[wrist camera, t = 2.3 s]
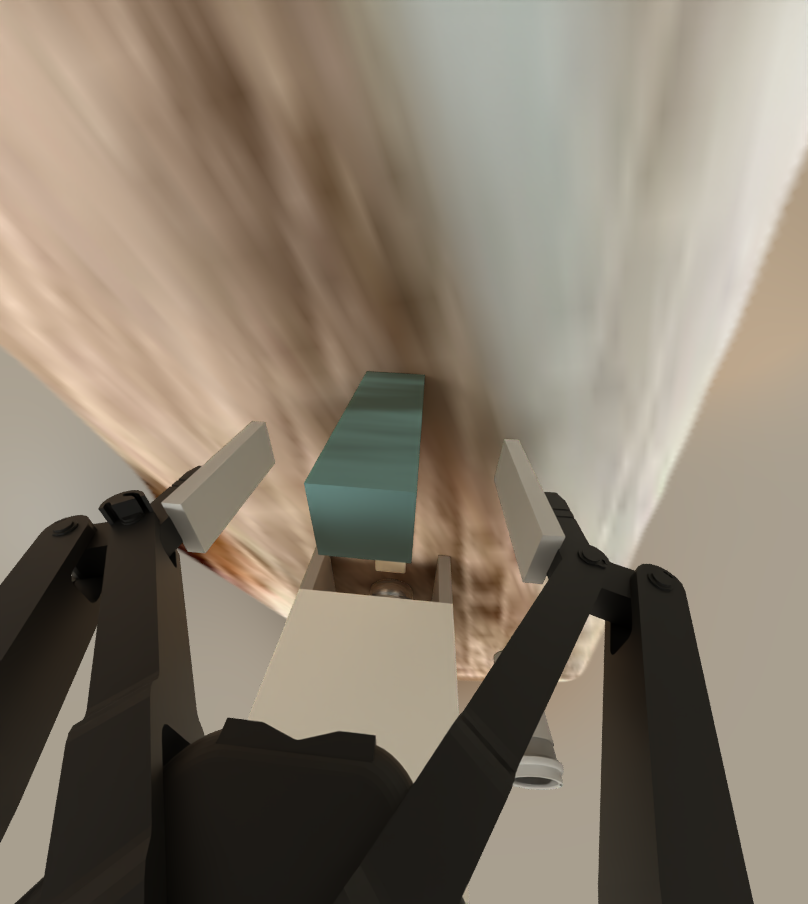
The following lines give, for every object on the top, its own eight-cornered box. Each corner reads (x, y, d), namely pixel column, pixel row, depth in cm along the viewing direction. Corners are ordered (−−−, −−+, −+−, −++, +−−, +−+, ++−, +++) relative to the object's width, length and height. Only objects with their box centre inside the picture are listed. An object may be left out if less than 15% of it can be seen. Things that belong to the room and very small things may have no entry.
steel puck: (370, 575, 34) (366, 596, 32) (414, 580, 34) (412, 602, 32) (371, 599, 37) (367, 620, 35) (411, 604, 37) (409, 625, 35)
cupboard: (312, 541, 31) (143, 948, 13) (454, 554, 30) (486, 1003, 12) (324, 598, 37) (220, 930, 19) (443, 610, 36) (452, 966, 18)
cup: (534, 668, 43) (564, 793, 33) (487, 668, 44) (502, 788, 34) (536, 645, 39) (571, 777, 29) (485, 645, 41) (501, 772, 31)
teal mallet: (366, 371, 20) (304, 483, 11) (424, 374, 20) (416, 492, 10) (373, 555, 32) (346, 693, 22) (411, 558, 31) (400, 700, 22)
